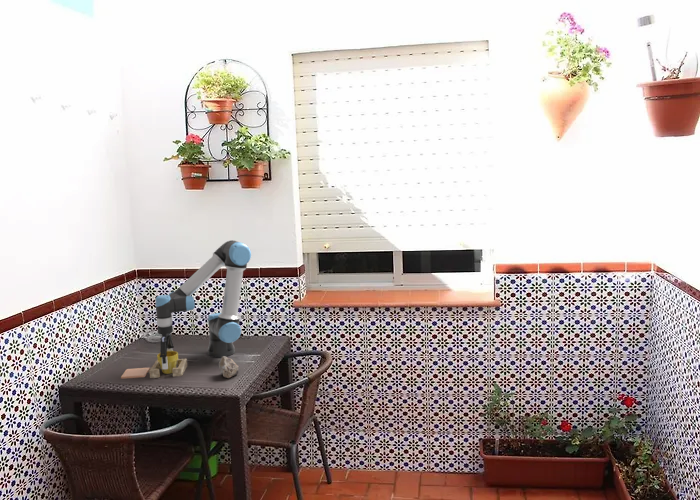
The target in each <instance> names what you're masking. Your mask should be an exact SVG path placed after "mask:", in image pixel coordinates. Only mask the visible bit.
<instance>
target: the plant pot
mask: <svg viewBox="0 0 700 500" xmlns="http://www.w3.org/2000/svg"><path fill="white" fill-rule="evenodd" d="M163 355H164V354H163ZM156 359H157V360H158V362H159V363H160V366H161V371H162V374H166V375H169V374H173V372H172V369H173V368H177V365H178V362H177V360H178V359H179V352H178V351H177V350H176V351H175V350H172V351H167V361H168V369H162V358H161V357H160V352H159V353H157V355H156Z"/></svg>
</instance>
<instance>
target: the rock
mask: <svg viewBox="0 0 700 500" xmlns="http://www.w3.org/2000/svg"><path fill="white" fill-rule="evenodd" d="M218 368H219V373H220V374H221V375H222V376H223V377H224V378H227V379H230V378H232V377H233V376H237V375H238V374H239V370H240V369H239V365H237V363H236V362H235V361H234V360H233V359H232V358H231V357H228V356H223V357H220V359H219V362H218Z"/></svg>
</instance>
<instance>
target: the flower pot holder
mask: <svg viewBox="0 0 700 500" xmlns="http://www.w3.org/2000/svg"><path fill="white" fill-rule="evenodd" d="M187 368H188V359H187V358H178V360H177V366H176V368H173V369H172V372H173V373H172V377H182V376H183V374H184V373H185V371H186V369H187ZM160 369H161V366H160V363H159V362H158V359H157V360H155V361H154V363H153V365H152V366H151V367H150V370H149V372H148V373H149V378H150V379H155V378H156V379H157V378H160V377H161V374H160ZM161 370H162V369H161Z"/></svg>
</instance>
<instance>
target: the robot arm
mask: <svg viewBox="0 0 700 500" xmlns="http://www.w3.org/2000/svg"><path fill="white" fill-rule="evenodd" d="M251 258H252V252H251V249H250V247H249V246H248V245H246V244H245V243H244V242H241V241H237V240H228V241H226V242H224V243H222V244H221V245H220V246H219V247H218V248H216V250H215V251H214V252H212V256H211V257H210V258H209V259H208V260H207V261H206V262H205V263H204V264H203V265H201V267H200V268H199V269H198V270H196V271H195V272H194V273H193V274H192V275H191V276H190V277H189V278H188V279H186V280H185V282H184V283H182V284H181V286H179V287H178V288H177V289H176V290H175V291H171V292H170V293H169V294H162V295H157V296H156V297H155V311H156V312H155V313H156V319H155V321H156V323H157V324H156V325H157V333H158V335H161V337H160V338H159V339H160V352H159V353H160V357H161V358H162V369H168V361H167V351H173V349H174V346H175V345H174V343H173V339H172V333H173V331H174V329H173V328H174V327H173V317H172V316H173V315H172V314H175V313H181V312H189V311H193V310H194V309H195V305H196V303H195V299H194V296H192V295H193V294H194V293H196V291H198V289H200V288H201V287H202V286H203V285H204V284H205V283H206V282H207V281H208V280H209V279H210V278H212V276H214V275H215V273H217V272H218V271H219V270H220V269H221V268H222V267H225V268H226V277H225V282H224V291H223V299H222V307H221V312H217V313H216V312H215V313H211V314H209V315H208V316H207V319H208V320H207V323H208V333H209V334H208V335H209V344H208V347H207V356H208V357H212V358H222V357H223V356H225V357H230V356H232V355H233V354H235V353H236V348H235V345H234V342H236V341H237V340H238V339H240V337H241V334H242V328H241V325H240V321H241V320H240V319H241V317H240V316H239V314H238V313H239V307H240V306H239V304H240V297H241V290H242V283H243V277H244V276H243V275H244V271H245V270H246V269H247V267H248V263H249V262H250V260H251ZM163 354H164V355H163ZM162 369H161V370H162Z"/></svg>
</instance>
